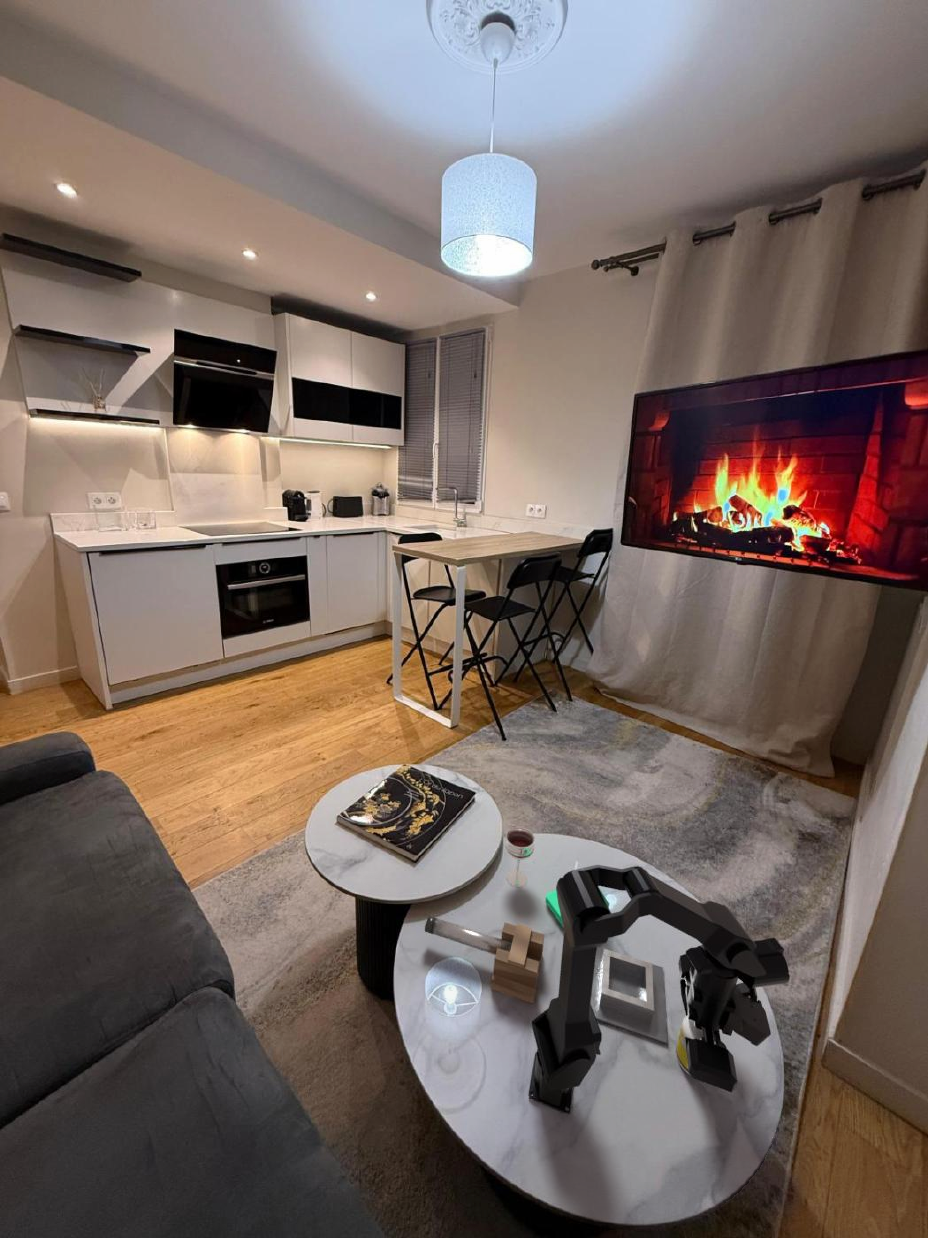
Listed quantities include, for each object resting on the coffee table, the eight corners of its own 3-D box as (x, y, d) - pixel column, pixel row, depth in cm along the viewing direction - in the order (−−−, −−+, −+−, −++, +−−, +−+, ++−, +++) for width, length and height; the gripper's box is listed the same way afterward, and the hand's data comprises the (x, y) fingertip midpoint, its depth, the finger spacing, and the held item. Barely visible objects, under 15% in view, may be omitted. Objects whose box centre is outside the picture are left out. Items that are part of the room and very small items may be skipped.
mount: (533, 1004, 90) (536, 975, 88) (491, 989, 92) (493, 960, 90) (542, 954, 99) (545, 927, 97) (503, 942, 101) (506, 915, 99)
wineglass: (516, 862, 121) (520, 823, 118) (536, 880, 116) (541, 839, 113) (496, 876, 117) (499, 835, 114) (516, 895, 112) (520, 853, 109)
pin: (513, 950, 96) (514, 939, 95) (509, 964, 94) (510, 952, 93) (430, 923, 101) (430, 912, 100) (424, 935, 99) (424, 924, 98)
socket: (666, 1045, 84) (670, 1031, 83) (583, 1016, 88) (586, 1001, 87) (662, 969, 97) (665, 956, 96) (589, 947, 101) (591, 933, 100)
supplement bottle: (692, 1037, 85) (702, 997, 82) (718, 1072, 81) (730, 1031, 78) (668, 1049, 83) (677, 1009, 80) (692, 1086, 79) (704, 1044, 76)
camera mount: (586, 886, 116) (591, 851, 112) (607, 912, 109) (613, 876, 106) (543, 903, 111) (547, 867, 108) (563, 932, 104) (568, 894, 101)
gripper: (789, 1069, 66) (763, 1142, 70) (757, 946, 83) (738, 1011, 87) (699, 1038, 69) (680, 1109, 74) (686, 925, 86) (671, 989, 91)
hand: (695, 1050), depth 81 cm, fingers closed on supplement bottle, 5 cm apart
